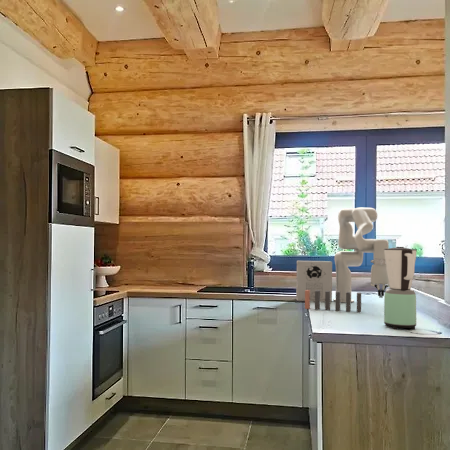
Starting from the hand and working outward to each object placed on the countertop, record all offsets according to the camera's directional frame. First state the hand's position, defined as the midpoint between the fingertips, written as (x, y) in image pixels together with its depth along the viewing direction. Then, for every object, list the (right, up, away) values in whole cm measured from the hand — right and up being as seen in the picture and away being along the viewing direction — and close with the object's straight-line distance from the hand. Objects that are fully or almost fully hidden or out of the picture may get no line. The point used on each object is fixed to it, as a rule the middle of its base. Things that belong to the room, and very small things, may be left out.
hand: (380, 297), depth 240 cm
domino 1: (-36, -8, +13) cm, 39 cm away
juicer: (-6, -7, -43) cm, 44 cm away
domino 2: (-31, -8, +11) cm, 34 cm away
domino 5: (-16, -8, +6) cm, 19 cm away
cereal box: (-26, -10, +50) cm, 57 cm away
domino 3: (-26, -8, +9) cm, 29 cm away
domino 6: (-11, -8, +4) cm, 14 cm away
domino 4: (-21, -8, +7) cm, 24 cm away
